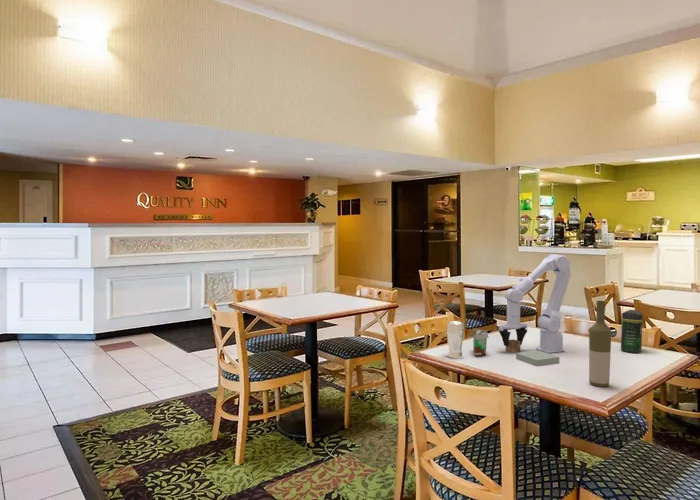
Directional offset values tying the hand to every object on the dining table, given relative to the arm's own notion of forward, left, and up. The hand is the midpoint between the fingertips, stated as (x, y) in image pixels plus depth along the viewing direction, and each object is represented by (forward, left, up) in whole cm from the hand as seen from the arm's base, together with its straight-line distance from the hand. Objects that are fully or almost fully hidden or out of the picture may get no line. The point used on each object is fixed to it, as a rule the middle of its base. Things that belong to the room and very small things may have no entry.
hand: (512, 345), depth 215 cm
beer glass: (+29, -3, -3) cm, 29 cm away
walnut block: (0, 0, -3) cm, 3 cm away
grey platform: (+1, +16, -3) cm, 16 cm away
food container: (+16, -2, -3) cm, 16 cm away
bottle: (+3, +48, -3) cm, 48 cm away
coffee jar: (-50, +20, -3) cm, 54 cm away
